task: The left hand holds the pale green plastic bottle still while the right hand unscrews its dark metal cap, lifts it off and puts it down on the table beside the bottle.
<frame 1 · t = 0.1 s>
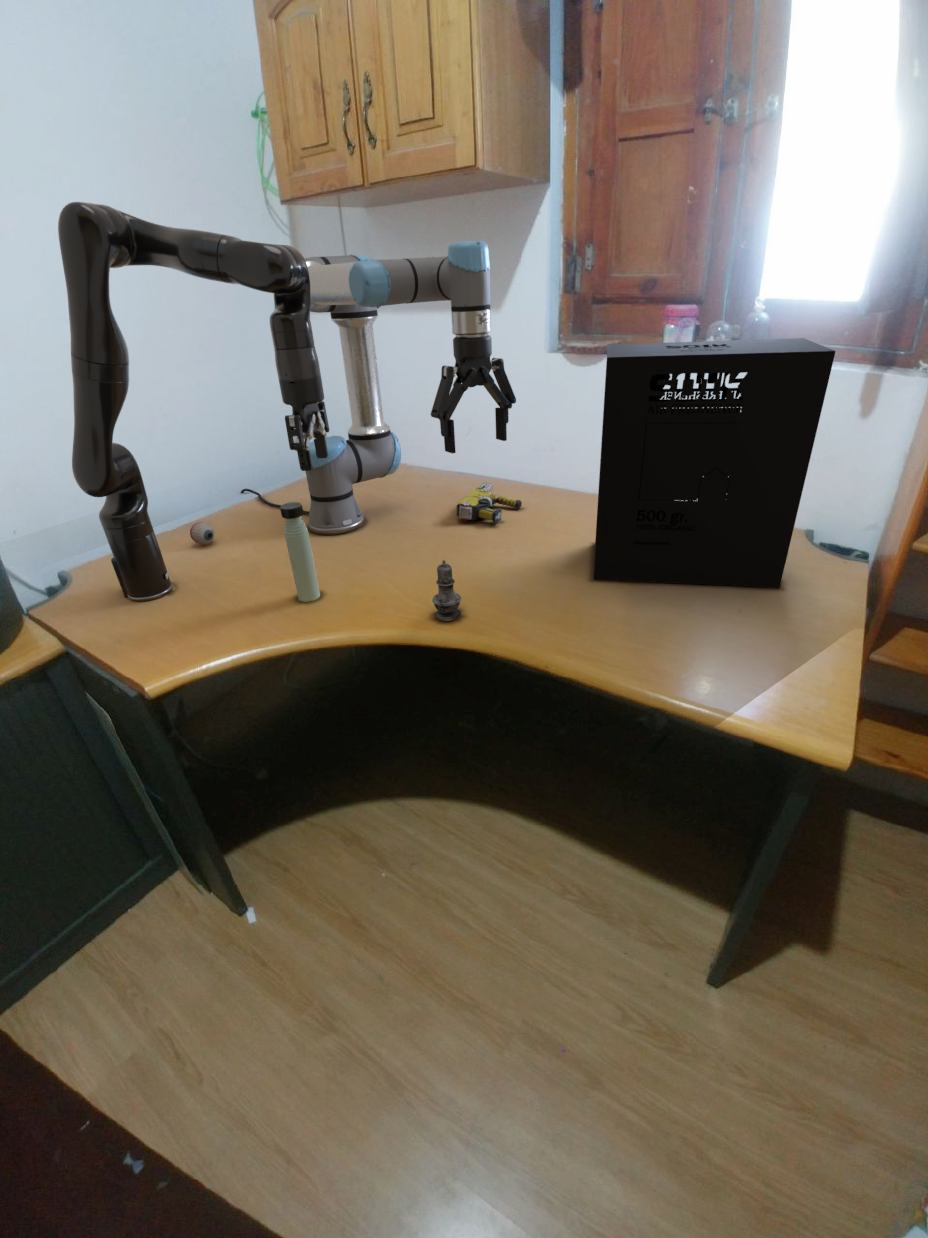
left hand: (315, 463, 117), 29 cm above the table, tool pointing down, fingers open, 8 cm apart
right hand: (476, 445, 127), 28 cm above the table, tool pointing down, fingers open, 13 cm apart
eyeball: (205, 544, 162), on the table
cap: (291, 506, 122), point 21 cm above the table, screwed on, not yet turned
bottle: (309, 596, 132), on the table
toy gun: (493, 510, 173), on the table
salt shaker: (447, 615, 122), on the table
cardboard box: (678, 564, 137), on the table
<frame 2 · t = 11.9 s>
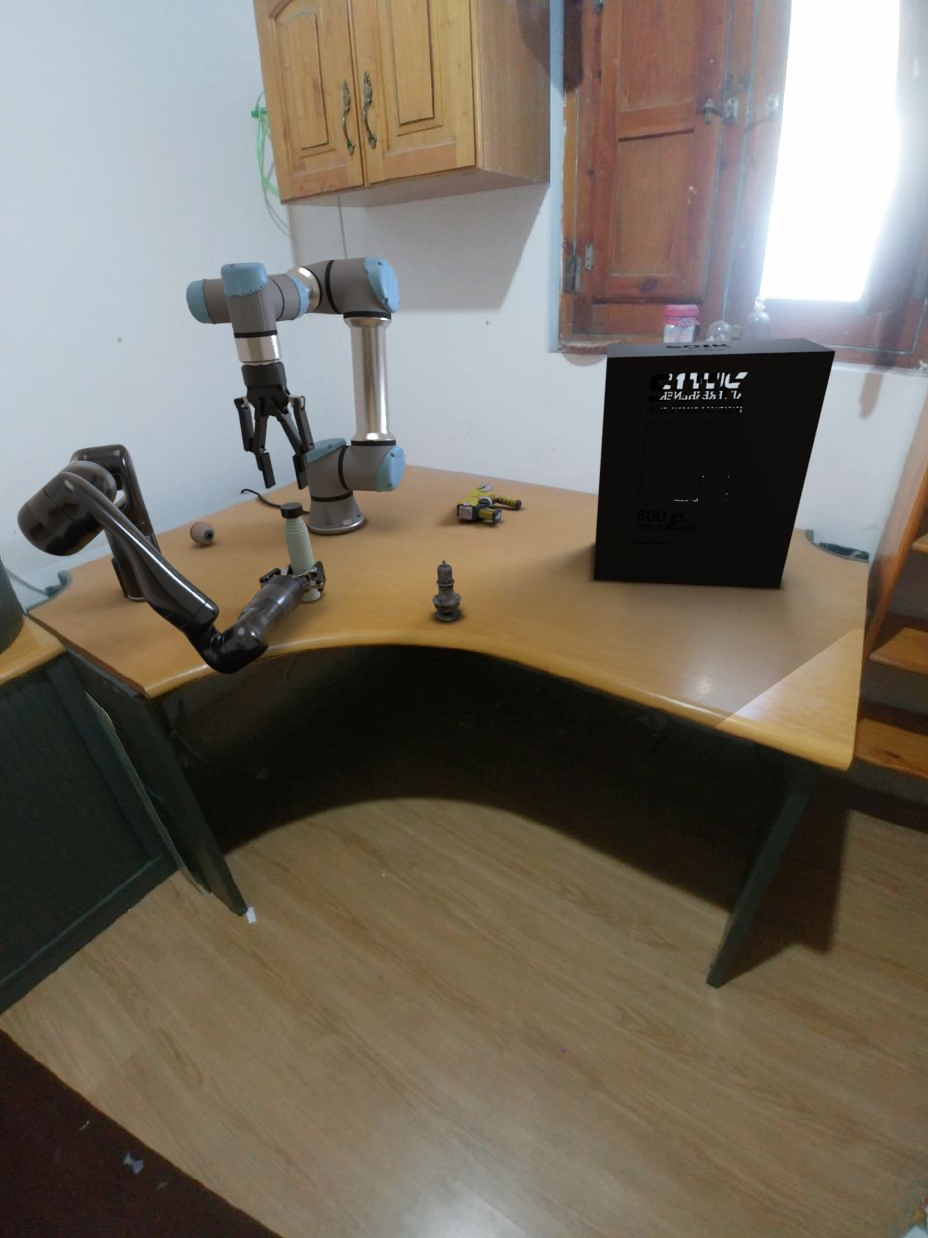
left hand: (308, 564, 131), 7 cm above the table, tool horizontal, fingers closed on bottle, 4 cm apart
right hand: (287, 486, 120), 25 cm above the table, tool pointing down, fingers open, 6 cm apart
bottle: (309, 596, 132), on the table, touching left hand
everything else where it was.
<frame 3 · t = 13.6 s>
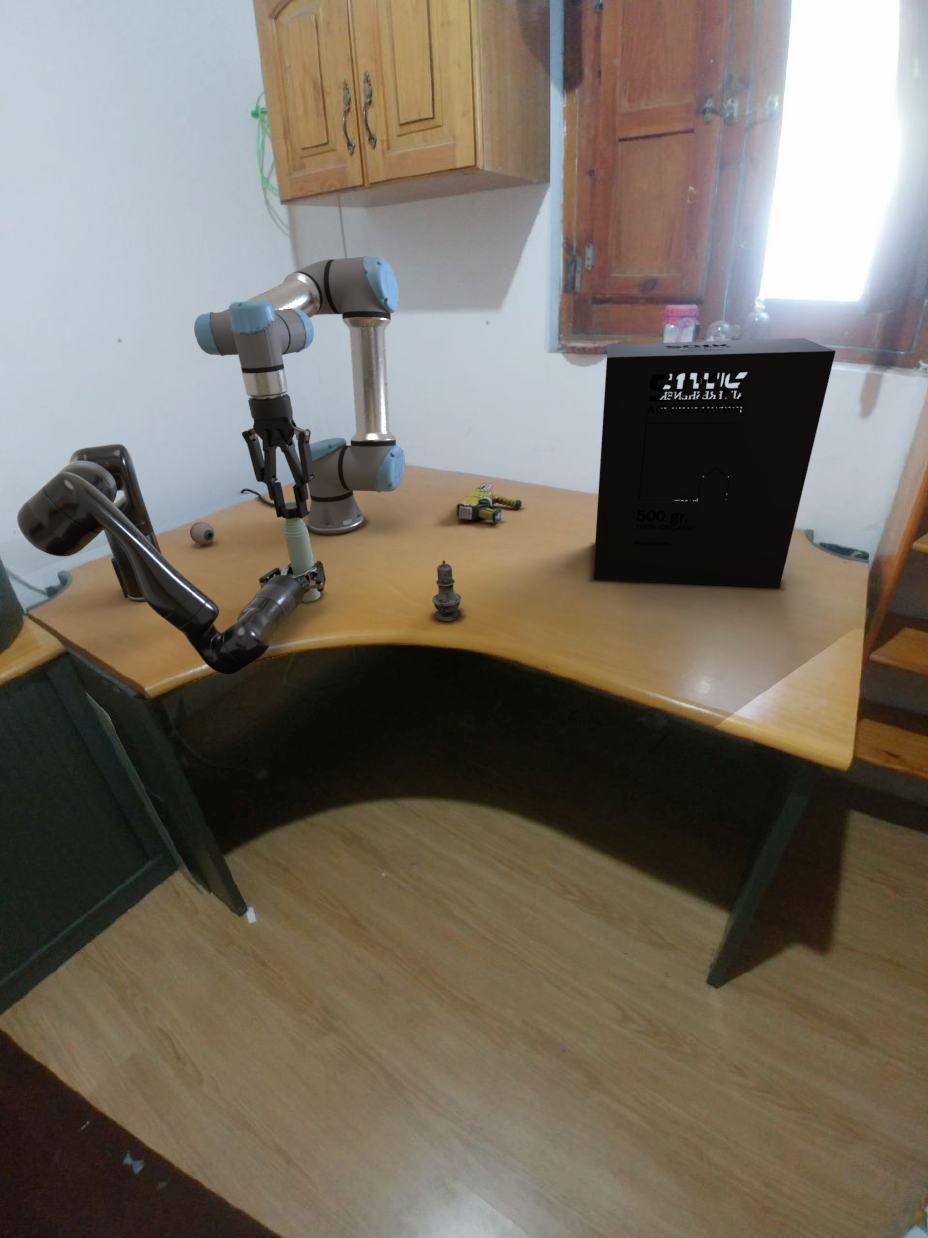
left hand: (308, 564, 131), 6 cm above the table, tool horizontal, fingers closed on bottle, 4 cm apart
right hand: (292, 515, 123), 19 cm above the table, tool pointing down, fingers closed on cap, 4 cm apart
cap: (291, 506, 122), point 21 cm above the table, screwed on, not yet turned, touching right hand
bottle: (309, 596, 132), on the table, touching left hand
everything else where it was.
when the right hand's fingers open (1 cm above the table, at t = 27.9 s): cap drops 1 cm, point 2 cm above the table.
when the left hand's fingers open (7 cm above the table, at t = 29.2 s): bottle stays where it is, on the table.
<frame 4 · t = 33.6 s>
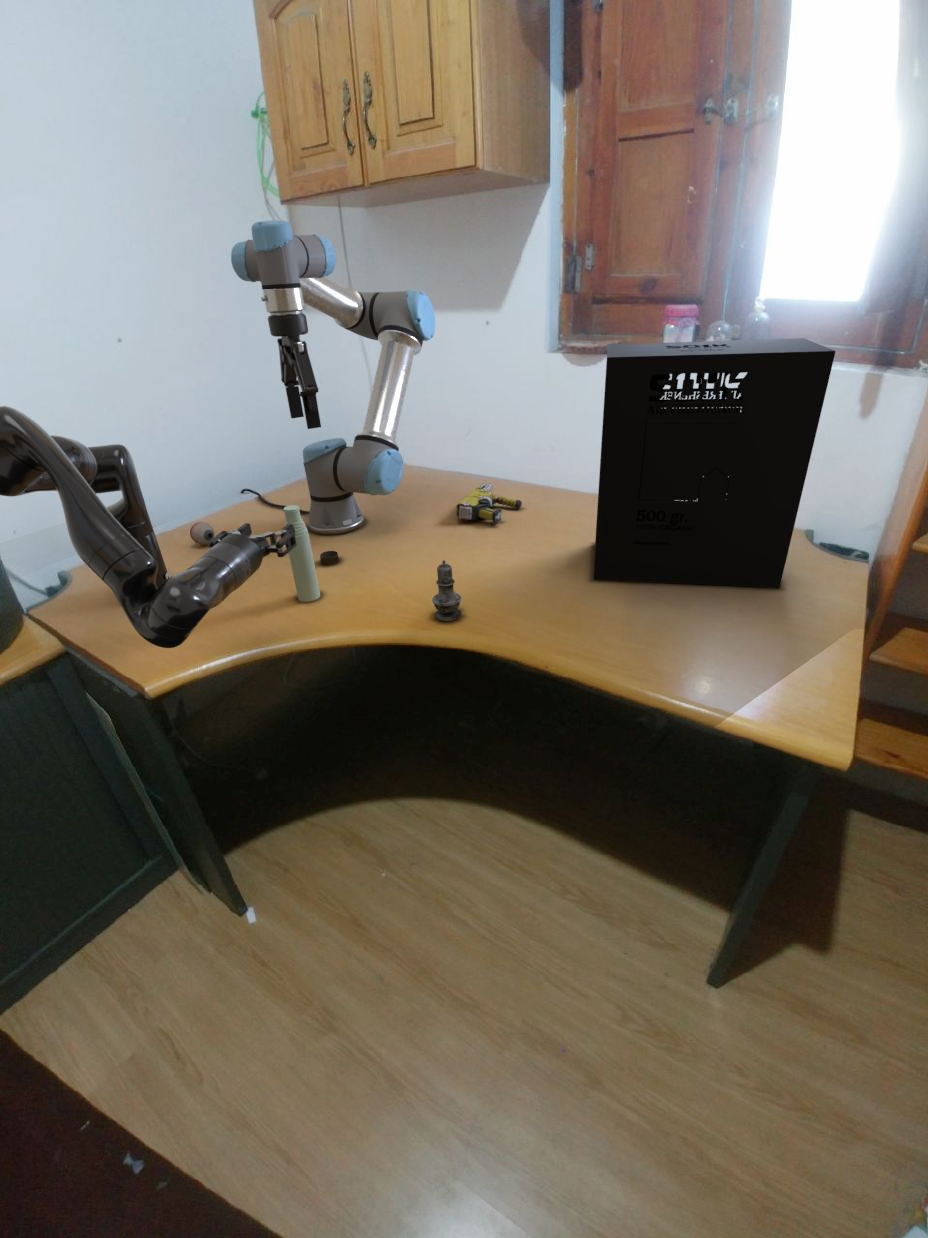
left hand: (270, 528, 113), 20 cm above the table, tool horizontal, fingers open, 8 cm apart
right hand: (305, 422, 131), 33 cm above the table, tool pointing down, fingers open, 13 cm apart
cap: (329, 555, 147), point 2 cm above the table, off its thread
bottle: (309, 596, 132), on the table
everything else where it was.
at the end: cap came off its thread; cap point 1.7 cm above the table; the left hand is holding nothing; the right hand is holding nothing; bottle tilted 0°; bottle moved 0.0 cm from its start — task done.
